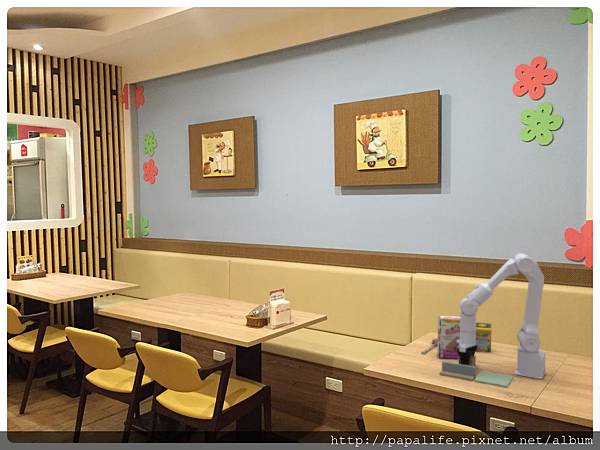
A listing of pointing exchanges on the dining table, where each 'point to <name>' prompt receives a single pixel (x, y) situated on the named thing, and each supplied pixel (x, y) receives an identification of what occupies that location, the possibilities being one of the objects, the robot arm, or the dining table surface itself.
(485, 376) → the mat
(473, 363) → the lettered cube
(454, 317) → the candy bar box
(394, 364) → the dining table surface
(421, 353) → the soupspoon
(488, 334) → the crayon box
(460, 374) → the grey long block
